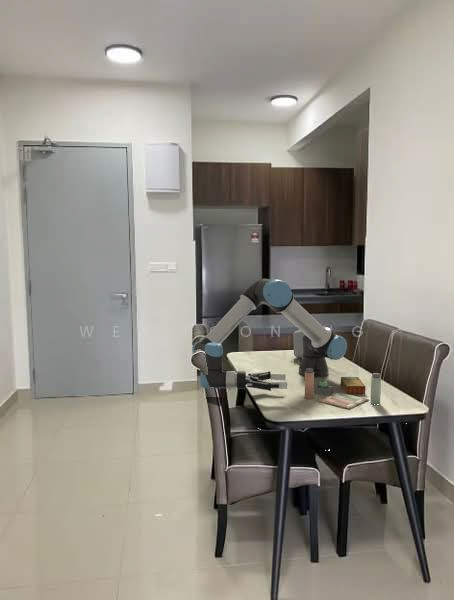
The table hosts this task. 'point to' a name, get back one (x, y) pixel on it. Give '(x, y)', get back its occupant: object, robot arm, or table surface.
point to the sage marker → (375, 388)
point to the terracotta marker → (309, 383)
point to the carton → (353, 385)
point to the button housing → (323, 390)
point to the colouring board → (343, 400)
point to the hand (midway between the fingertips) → (286, 381)
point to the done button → (323, 384)
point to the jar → (297, 343)
